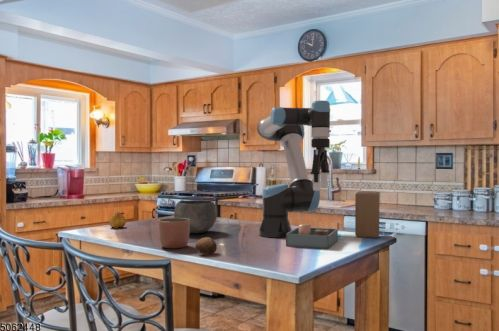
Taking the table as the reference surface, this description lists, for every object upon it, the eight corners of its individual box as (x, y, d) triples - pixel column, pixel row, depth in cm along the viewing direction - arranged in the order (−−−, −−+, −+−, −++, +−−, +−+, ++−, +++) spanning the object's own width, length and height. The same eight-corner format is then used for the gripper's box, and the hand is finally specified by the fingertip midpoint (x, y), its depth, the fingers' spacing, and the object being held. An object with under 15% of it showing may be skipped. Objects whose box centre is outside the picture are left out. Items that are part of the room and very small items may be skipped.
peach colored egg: (297, 242, 185) (297, 225, 185) (300, 240, 190) (300, 223, 189) (308, 242, 183) (308, 225, 183) (312, 240, 188) (312, 224, 187)
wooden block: (379, 235, 205) (379, 191, 205) (378, 238, 196) (378, 193, 195) (357, 233, 208) (357, 191, 208) (355, 237, 199) (355, 192, 199)
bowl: (165, 234, 208) (165, 202, 208) (188, 228, 227) (187, 199, 227) (204, 237, 200) (204, 204, 200) (224, 230, 219) (223, 200, 219)
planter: (175, 251, 170) (175, 222, 170) (152, 247, 177) (151, 220, 177) (196, 245, 181) (196, 219, 180) (173, 243, 187) (173, 217, 187)
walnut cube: (314, 243, 182) (314, 231, 182) (317, 241, 187) (317, 229, 187) (326, 244, 180) (326, 231, 180) (329, 241, 185) (329, 229, 185)
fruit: (122, 224, 225) (123, 210, 229) (106, 226, 225) (107, 211, 229) (126, 230, 232) (128, 216, 236) (111, 232, 232) (112, 218, 236)
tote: (286, 246, 179) (285, 233, 179) (298, 238, 197) (298, 227, 197) (328, 249, 173) (328, 236, 173) (337, 240, 191) (337, 229, 191)
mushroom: (195, 242, 170) (200, 230, 167) (214, 249, 171) (220, 238, 168) (190, 256, 163) (196, 244, 160) (210, 264, 164) (216, 252, 161)
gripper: (322, 137, 172) (322, 191, 172) (335, 138, 195) (335, 187, 196) (303, 137, 175) (303, 191, 175) (318, 139, 198) (318, 186, 198)
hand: (320, 189), depth 185 cm, fingers open, 13 cm apart
